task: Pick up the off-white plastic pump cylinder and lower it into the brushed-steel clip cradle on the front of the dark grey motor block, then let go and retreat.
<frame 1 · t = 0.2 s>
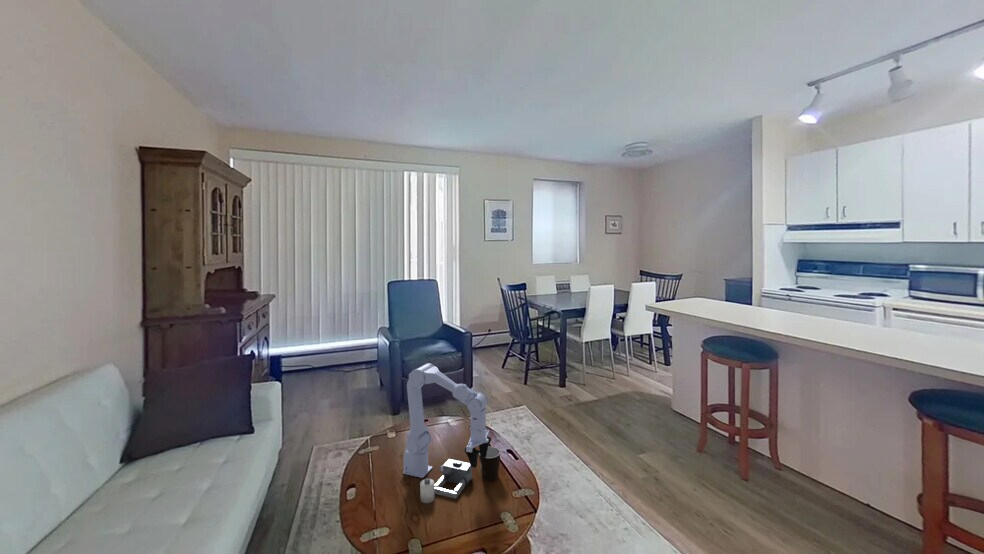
hand: (478, 461, 147), 10 cm above the table, fingers open, 7 cm apart
coffee mug: (490, 474, 156), on the table, touching gripper
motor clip: (452, 485, 149), on the table
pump: (427, 498, 141), on the table
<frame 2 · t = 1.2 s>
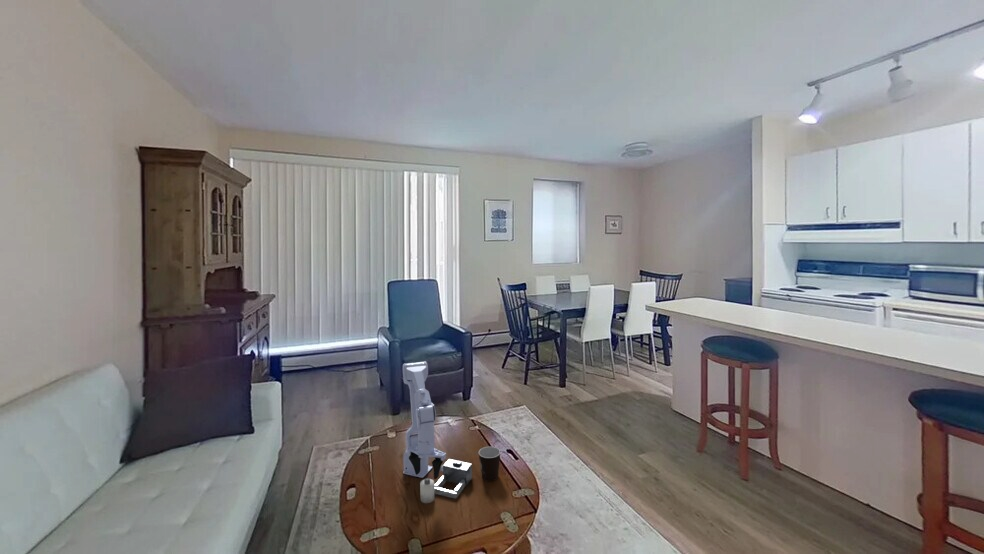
hand: (427, 475, 141), 9 cm above the table, fingers open, 7 cm apart
coffee mug: (490, 474, 156), on the table
everything else where it was.
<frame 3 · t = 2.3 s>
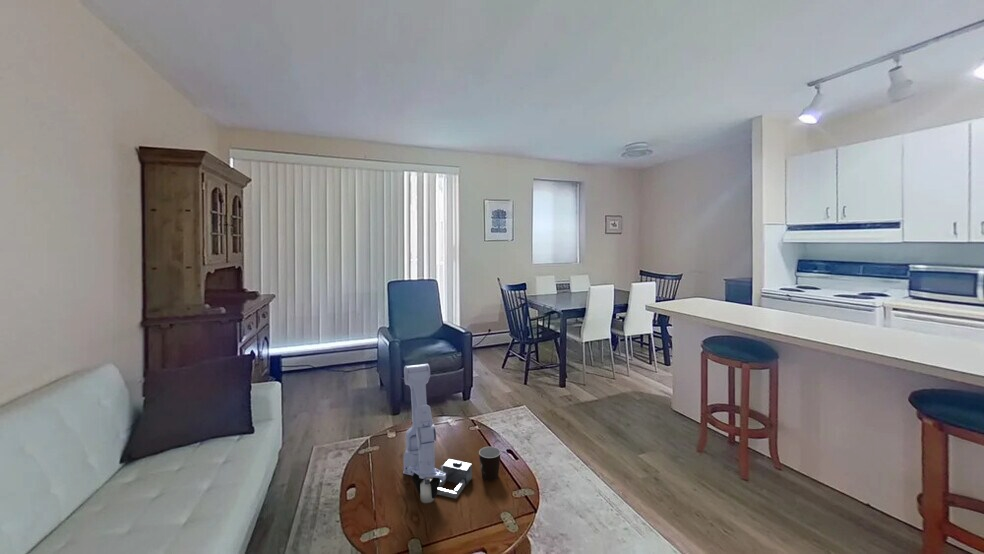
hand: (427, 494, 141), 1 cm above the table, fingers closed on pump, 5 cm apart
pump: (427, 498, 141), on the table, touching gripper
everything else where it was.
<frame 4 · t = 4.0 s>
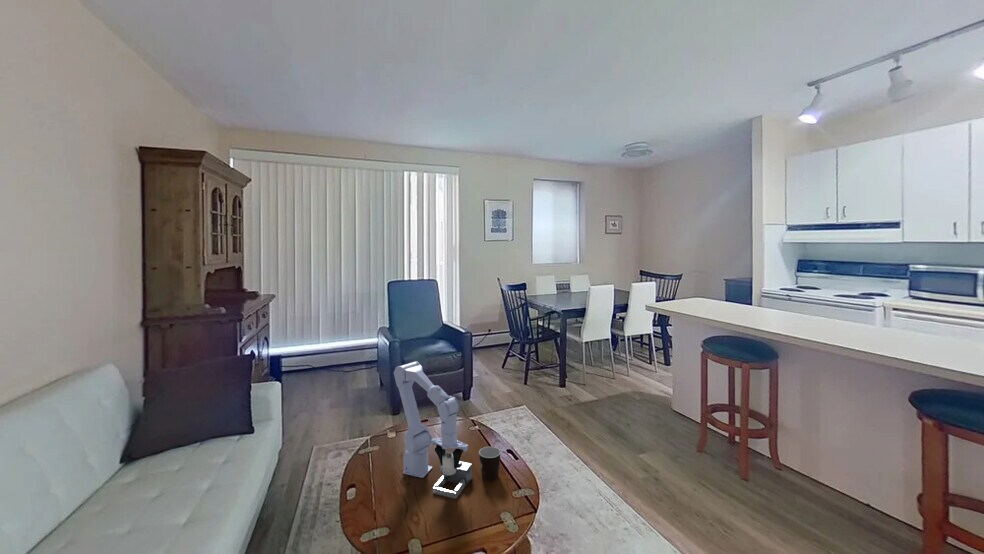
hand: (449, 465, 147), 9 cm above the table, fingers closed on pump, 5 cm apart
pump: (449, 471, 146), point 7 cm above the table, touching gripper
everything else where it was.
when the fingers open (3 cm above the table, at t = 5.6 s): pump drops 1 cm, resting in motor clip.
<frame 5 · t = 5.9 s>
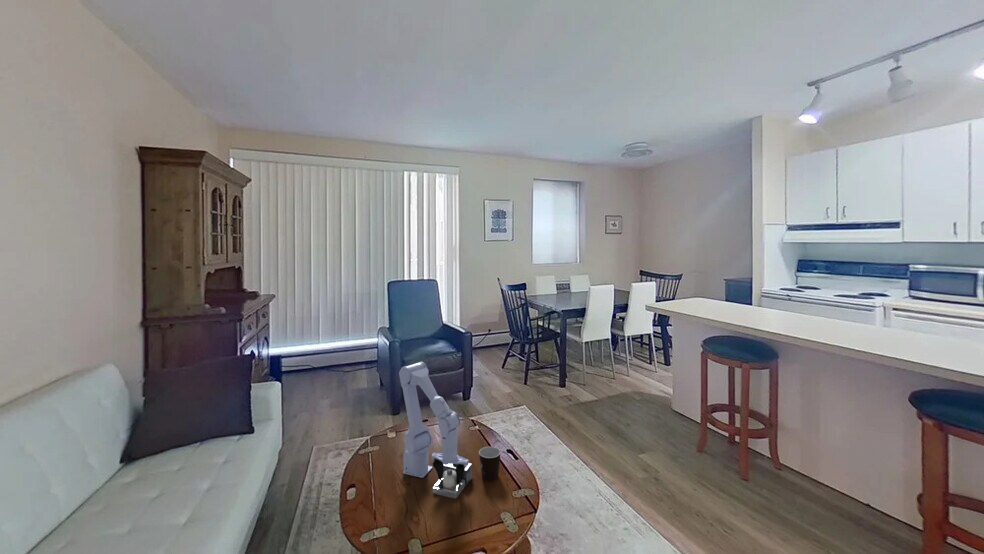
hand: (450, 480, 147), 3 cm above the table, fingers open, 7 cm apart
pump: (449, 489, 147), resting in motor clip
everything else where it was.
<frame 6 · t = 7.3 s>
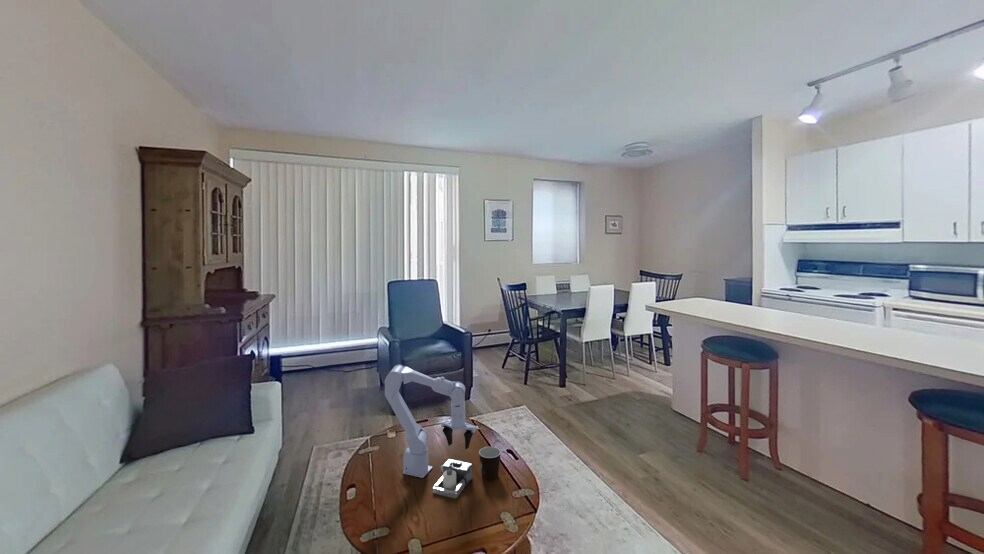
hand: (458, 446, 158), 10 cm above the table, fingers open, 7 cm apart
nothing on the table moved.
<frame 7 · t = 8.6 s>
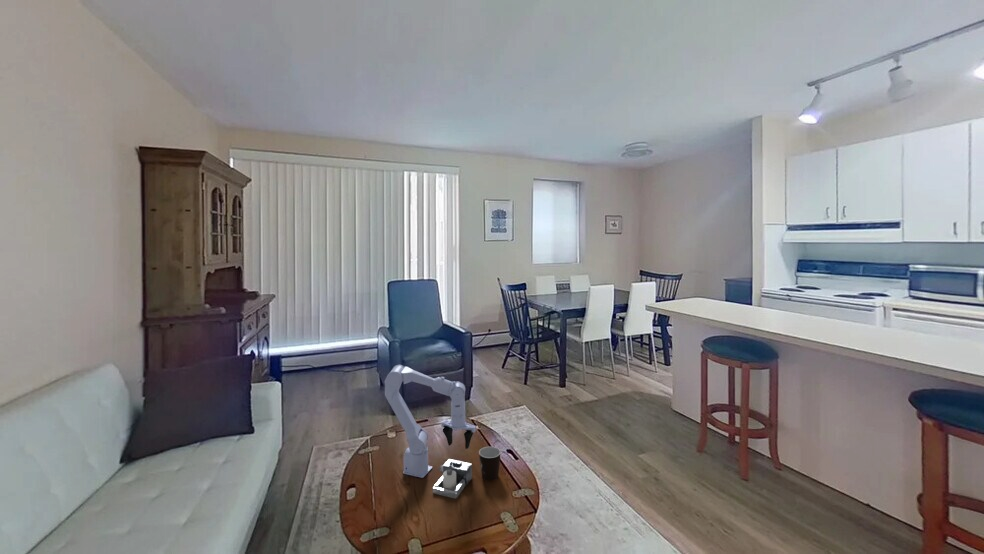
hand: (458, 446, 158), 10 cm above the table, fingers open, 7 cm apart
nothing on the table moved.
at the end: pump 0.4 cm from the target spot, resting in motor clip; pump tilted 0°; the gripper is holding nothing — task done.
